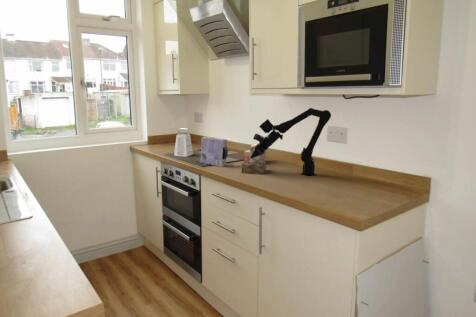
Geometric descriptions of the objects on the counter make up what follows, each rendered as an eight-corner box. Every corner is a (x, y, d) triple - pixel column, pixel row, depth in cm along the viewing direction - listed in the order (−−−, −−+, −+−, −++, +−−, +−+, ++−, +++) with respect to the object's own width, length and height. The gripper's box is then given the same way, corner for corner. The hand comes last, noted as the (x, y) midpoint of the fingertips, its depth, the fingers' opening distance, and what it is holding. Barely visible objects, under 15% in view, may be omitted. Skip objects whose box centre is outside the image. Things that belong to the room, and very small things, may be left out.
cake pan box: (228, 165, 227) (228, 138, 223) (223, 167, 223) (223, 139, 219) (204, 162, 237) (204, 136, 234) (200, 163, 233) (200, 137, 230)
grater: (186, 156, 256) (186, 129, 252) (174, 155, 259) (173, 128, 256) (192, 154, 266) (192, 128, 262) (180, 153, 269) (180, 127, 265)
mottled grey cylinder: (258, 169, 213) (259, 146, 211) (257, 170, 210) (258, 147, 207) (250, 168, 214) (251, 146, 212) (249, 169, 211) (250, 147, 208)
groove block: (265, 169, 217) (266, 161, 216) (263, 174, 205) (263, 165, 204) (245, 168, 219) (245, 160, 218) (241, 172, 208) (241, 164, 207)
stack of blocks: (252, 166, 227) (252, 147, 224) (243, 165, 230) (243, 146, 227) (265, 161, 245) (266, 143, 243) (257, 160, 248) (258, 143, 246)
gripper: (263, 127, 216) (245, 144, 220) (259, 130, 198) (239, 149, 202) (275, 140, 215) (257, 157, 220) (272, 145, 197) (252, 163, 202)
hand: (252, 156), depth 211 cm, fingers open, 9 cm apart
